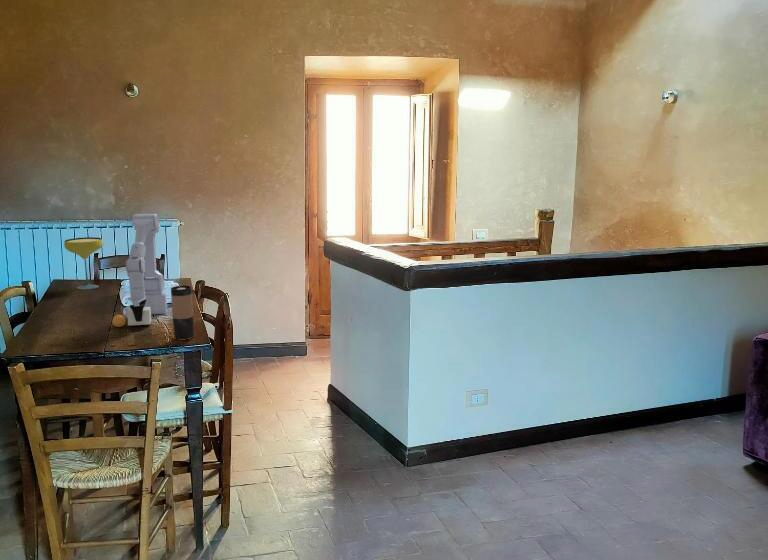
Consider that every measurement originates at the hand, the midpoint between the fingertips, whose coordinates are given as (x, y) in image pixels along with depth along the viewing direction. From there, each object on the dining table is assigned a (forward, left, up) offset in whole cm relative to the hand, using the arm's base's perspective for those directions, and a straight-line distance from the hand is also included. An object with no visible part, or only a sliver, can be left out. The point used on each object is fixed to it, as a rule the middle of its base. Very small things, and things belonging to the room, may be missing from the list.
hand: (139, 319), depth 289 cm
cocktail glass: (+34, -85, -3) cm, 92 cm away
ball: (+8, 0, 0) cm, 8 cm away
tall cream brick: (0, 0, -2) cm, 2 cm away
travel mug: (-19, +24, -3) cm, 31 cm away
